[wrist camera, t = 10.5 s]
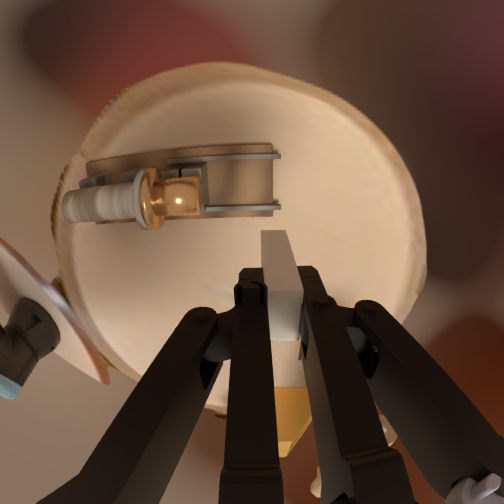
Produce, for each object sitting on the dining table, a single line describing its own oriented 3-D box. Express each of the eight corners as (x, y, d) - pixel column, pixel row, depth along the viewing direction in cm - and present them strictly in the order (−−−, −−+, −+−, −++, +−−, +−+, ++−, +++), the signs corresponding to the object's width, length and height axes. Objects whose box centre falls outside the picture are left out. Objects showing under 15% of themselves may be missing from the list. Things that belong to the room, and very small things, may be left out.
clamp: (233, 406, 61) (229, 461, 46) (232, 386, 57) (228, 447, 42) (312, 406, 61) (320, 459, 47) (320, 386, 57) (331, 444, 43)
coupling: (170, 211, 38) (145, 238, 29) (165, 161, 35) (135, 174, 26) (209, 209, 38) (195, 237, 29) (206, 157, 35) (189, 169, 26)
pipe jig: (99, 221, 40) (60, 252, 30) (89, 162, 36) (43, 178, 25) (279, 213, 40) (288, 247, 29) (279, 144, 35) (289, 151, 25)
